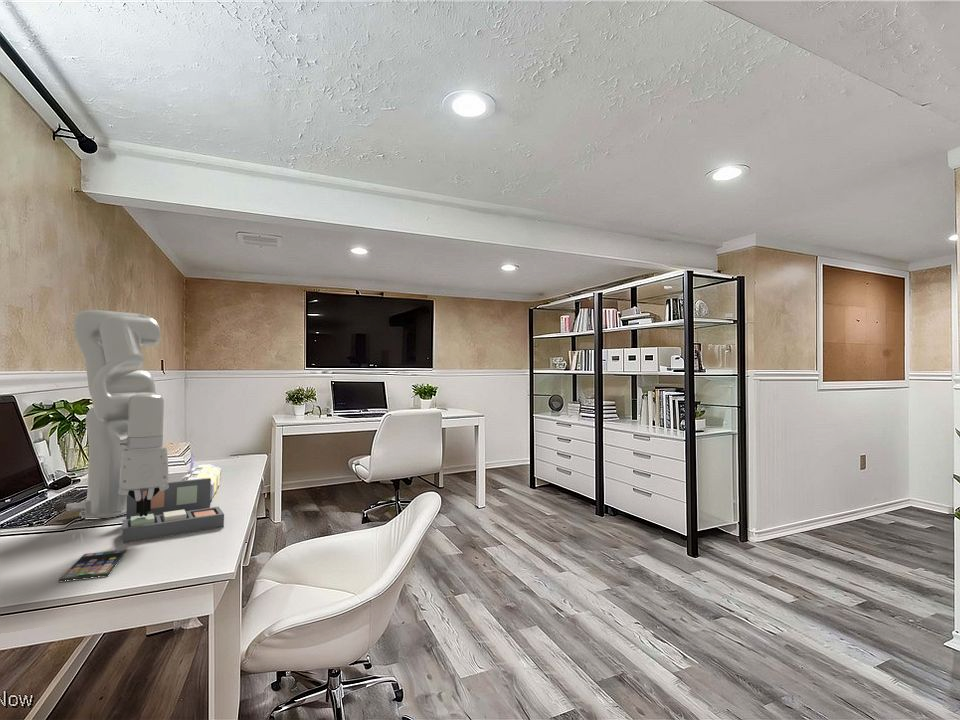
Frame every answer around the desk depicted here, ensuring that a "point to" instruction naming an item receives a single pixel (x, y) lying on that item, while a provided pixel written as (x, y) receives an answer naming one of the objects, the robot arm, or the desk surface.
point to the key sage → (142, 520)
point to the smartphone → (93, 565)
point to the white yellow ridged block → (205, 475)
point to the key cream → (174, 515)
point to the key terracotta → (203, 513)
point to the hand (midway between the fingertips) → (143, 514)
